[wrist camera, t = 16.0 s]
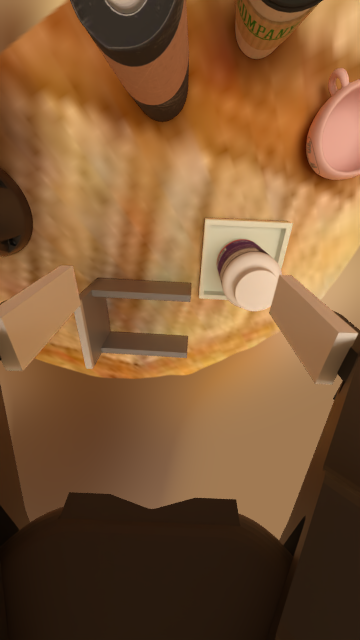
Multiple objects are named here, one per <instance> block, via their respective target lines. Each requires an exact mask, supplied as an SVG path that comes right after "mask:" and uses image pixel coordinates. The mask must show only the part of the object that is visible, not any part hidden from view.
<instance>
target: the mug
mask: <svg viewBox="0 0 360 640" xmlns="http://www.w3.org/2000/svg"><path fill="white" fill-rule="evenodd" d="M336 78H339V79H340V81H341V84H342V88H341V89H340V90H338V89H337V87H336V85H335V82H336ZM328 88H329V92H330V94H331V97H330V98H329V99H328V100H327V101H326V103H325V104H324V105H323V106H322V107H321V108H320V110H319V111H318V113H317V115H316V116H315V118H314V120H313V122H312V124H311V126H310V129H309V132H308V136H307V142H306V155H307V158H308V162H309V164H310V166H311V168H312V169H313V170H314V171H315V172H316V173H317V174H318V175H320V176H322V177H324V178H327V179H331V180H343V179H348V178H352V177H355V176H358V175H360V79H359V80H356V81H354V82H351V83H349V77H348V74H347V72H346V70H345V69H343V68H338V69H336V70H334V72H333V73H332V74H331V76H330V78H329V83H328Z"/></svg>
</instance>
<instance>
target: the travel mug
mask: <svg viewBox="0 0 360 640" xmlns="http://www.w3.org/2000/svg"><path fill="white" fill-rule="evenodd" d="M70 1H71V4H72V6H73V9H74V11H75V13H76V15H77V17H78V19H79V20H80V22H81V23H82V25H83V26H84V27H85V28H86V30H87V31H88V33H89V34H90V36H91V37H92V39H93V40H94V42H95V43H96V45H97V46H98V48H99V49H100V51H101V52H102V54H103V56H104V57H105V59H106V60H107V62H108V63H109V65H110V66H111V68H112V69H113V71H114V72H115V74H116V75H117V77H118V78H119V80H120V81H121V83H122V85H123V86H124V88H125V89H126V90H127V92H128V93H129V94H130V95H131V97H132V98H133V99H134V100H135V102H136V103H137V104H138V105H139V107H140V108H141V109H142V110H143V111H144V112H145V114H146V115H148V116H149V117H150V118H152V119H154V120H156V121H168V120H171V119H173V118H174V117H175V116H177V115H178V114H179V112H180V111H181V110H182V108H183V106H184V104H185V101H186V98H187V92H188V70H189V46H188V29H187V13H186V0H70Z"/></svg>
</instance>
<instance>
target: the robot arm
mask: <svg viewBox="0 0 360 640" xmlns="http://www.w3.org/2000/svg"><path fill="white" fill-rule="evenodd" d="M31 232H32V216H31V212H30V208H29V205H28V203H27V200H26V198H25V196H24V195H23V193H22V191H21V190H20V188H19V187H18V185H17V184H16V183H15V182H14V181H13V179H12V178H11V177H10V176H9V175H8V174H7V173H6V172H4V171H3V170H2V169H1V168H0V257H1V256H6V255H9V254H12V253H15V252H17V251H19V250H21V249H22V248H23V247H24V246H25V245H26V244H27V243H28V241H29V239H30V236H31ZM80 305H81V303H80V298H79V293H78V288H77V283H76V278H75V273H74V268H73V266H69V265H60V266H59V267H57V268H56V269H54V270H53V271H51V272H50V273H48V274H47V275H45V276H44V277H42V278H40V279H39V280H37V281H36V282H34V283H33V284H31V285H30V286H28V287H27V288H25V289H24V290H22V291H21V292H19V293H17V294H16V295H14V296H13V297H11V298H10V299H8V300H6V301H4V302H2V303H1V304H0V360H1V361H2V363H3V365H4V367H5V369H6V370H11V371H12V370H13V371H23V370H24V369H25V368H26V367H27V366H28V365H29V363H30V362H31V361H32V360H33V359H34V358H35V357H36V355H37V354H38V353H39V352H40V351H41V350H42V349H43V347H44V346H45V345H46V344H47V343H48V342H49V340H50V339H51V338H52V337H53V336H54V335H55V334H56V332H57V331H58V330H59V329H60V328H61V327H62V326H63V324H64V323H65V322H66V321H67V320H68V319H69V317H70V316H71V315H72V314H73V313H74V312H75V311H76V309H77V308H78V307H79V306H80ZM269 313H270V315H271V316H272V318H273V319H274V321H275V323H276V324H277V326H278V327H279V329H280V330H281V332H282V333H283V335H284V336H285V338H286V339H287V341H288V342H289V344H290V346H291V347H292V349H293V350H294V352H295V353H296V355H297V357H298V358H299V360H300V361H301V362H302V364H303V366H304V367H305V369H306V370H307V372H308V373H309V375H310V376H311V378H312V380H313V381H314V383H315V384H333V382H334V380H335V378H336V376H337V374H338V375H339V376H340V377H341V379H342V380H343V381H342V383H341V385H340V387H339V389H338V391H337V393H336V395H335V396H334V398H333V399H334V403H333V405H332V408H331V411H330V413H329V416H328V418H327V421H326V424H325V426H324V429H323V432H322V434H321V437H320V440H319V442H318V445H317V447H316V450H315V453H314V455H313V458H312V461H311V463H310V466H309V469H308V471H307V474H306V476H305V479H304V482H303V484H302V487H301V490H300V492H299V495H298V498H297V500H296V503H295V505H294V508H293V511H292V513H291V516H290V518H289V521H288V523H287V525H286V528H285V529H284V531H283V533H282V535H281V538H280V540H278V539H277V538H276V537H275V536H273V535H272V534H271V533H270V532H269V531H267V530H266V529H265V528H264V527H262V526H261V525H260V524H258V523H257V522H255V521H253V520H251V519H250V518H248V517H246V516H244V515H241V514H238V509H237V503H236V500H233V499H211V498H193V499H189V500H185V501H182V502H178V503H175V504H171V505H167V506H163V507H160V508H156V509H148V508H145V507H142V506H140V505H137V504H134V503H132V502H129V501H127V500H124V499H121V498H119V497H116V496H114V495H111V494H93V493H71V492H70V493H69V494H68V497H67V500H66V503H65V505H64V507H61V508H58V509H55V510H53V511H51V512H48V513H46V514H44V515H42V516H40V517H38V518H36V519H35V520H34V521H32V522H30V521H29V518H28V516H27V513H26V510H25V506H24V501H23V496H22V491H21V487H20V481H19V476H18V471H17V466H16V461H15V456H14V451H13V446H12V441H11V436H10V431H9V426H8V421H7V416H6V411H5V406H4V401H3V396H2V391H1V386H0V640H360V330H359V329H358V328H357V327H354V325H353V324H352V323H351V322H349V321H348V320H347V319H346V318H345V317H343V316H342V315H340V314H339V313H337V312H334V311H333V310H331V309H330V308H329V307H327V306H326V305H325V304H324V303H323V302H322V301H320V300H319V299H318V298H317V297H316V296H315V295H314V294H312V293H311V292H310V291H309V290H308V289H307V288H305V287H304V286H303V285H302V284H301V283H300V282H299V281H297V280H296V279H295V278H294V277H293V276H292V275H279V278H278V282H277V285H276V289H275V293H274V297H273V300H272V304H271V308H270V312H269Z"/></svg>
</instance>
